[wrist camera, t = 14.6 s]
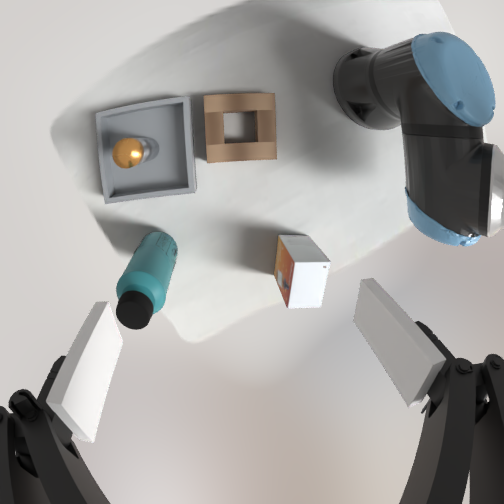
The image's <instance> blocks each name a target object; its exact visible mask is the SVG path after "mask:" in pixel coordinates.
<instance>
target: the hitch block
mask: <svg viewBox="0 0 504 504" xmlns="http://www.w3.org/2000/svg"><path fill="white" fill-rule="evenodd" d="M238 112H254V115H255V141H256V142H244V143H226V144H225V143H224V122H223V113H238ZM204 115H205V135H206V152H207V163H216V162H230V161H247V160H271V159H277V147H276V115H275V93H238V94H218V95H205V96H204Z"/></svg>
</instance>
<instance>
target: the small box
mask: <svg viewBox="0 0 504 504" xmlns="http://www.w3.org/2000/svg"><path fill="white" fill-rule="evenodd" d="M330 264H331V261H330V260H329V259H328V258H327V256H326V255H325V254H324V253H323V252H322V251H321V249H320V248H319V247H318V246H317V245H316V244H315V242H314V241H313V240H312V239H311V238H310V237H309V236H302V235H278V245H277V254H276V262H275V270H274V276H275V279H276V281H277V284H278V286H279V289H280V291H281V294H282V296H283V299H284V301H285V304H286V306H287V308H312V307H321V304H322V299H323V294H324V290H325V285H326V281H327V276H328V272H329V268H330Z"/></svg>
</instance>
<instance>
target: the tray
mask: <svg viewBox="0 0 504 504" xmlns="http://www.w3.org/2000/svg"><path fill="white" fill-rule="evenodd" d="M96 130H97V144H98V155H99V164H100V172H101V180H102V187H103V194H104V200H105V204H109V203H116V202H123V201H130V200H137V199H145V198H153V197H161V196H170V195H179V194H189V193H195V192H196V189H197V183H196V171H195V158H194V143H193V125H192V105H191V99H190V97H189V96H184V97H176V98H168V99H161V100H155V101H149V102H143V103H138V104H133V105H128V106H123V107H118V108H114V109H110V110H106V111H102V112H98V113H96ZM124 138H153V139H155V140H156V141H157V142H158V144H159V153H158V155H157V157H156V158H154V159H153V160H151V161H148V162H145V163H142V164H139V165H137V166H134V167H131V168H128V169H124V168H120V167H119V166H117V165H116V164H115V162H114V160H113V157H112V152H113V148H114V146H115V145H116V143H117V142H118V141H120V140H121V139H124Z"/></svg>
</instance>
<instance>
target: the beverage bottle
mask: <svg viewBox="0 0 504 504" xmlns="http://www.w3.org/2000/svg"><path fill="white" fill-rule="evenodd" d="M143 238H144V237H143ZM177 248H178V247H177V246H176V243H175V241H174V240H173V238H172V237H171V236H169V235H168V234H166V233H164V232H153V233H150V234H148V235H147V236H146V237H145V238H144V239H142V242H141V243H140V245H139V246H138V248H137V249H136V251H134V252H135V253H133V254H134V255H133V256H132V259H131V261H130V260H129V261H130V263H129V264H128V266H127V268H126V270H125V271H124V273H123V275H122V276H121V278H120V279H119V281H118V283H117V287H116V292H117V297H118V299H119V301H118V305H117V308H116V315H117V318H118V320H119V321H120V322H121V323H122V324H123V325H124V326H126V327H128V328H130V329H136V330H137V329H142V328H144V327H145V326H147V325H148V323H149V321H150V318H151V317H152V315H153V314H155V313H156V312H158V311H159V310H160V309H161V308H162V307H163V305H164V303H165V299H166V293H167V289H168V285H169V282H170V278H171V275H172V271H174V270H173V269H174V267H175V264H174V263H176V262H175V261H176V260H177V259H176V256H178V255H177ZM175 259H176V260H175Z"/></svg>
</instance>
